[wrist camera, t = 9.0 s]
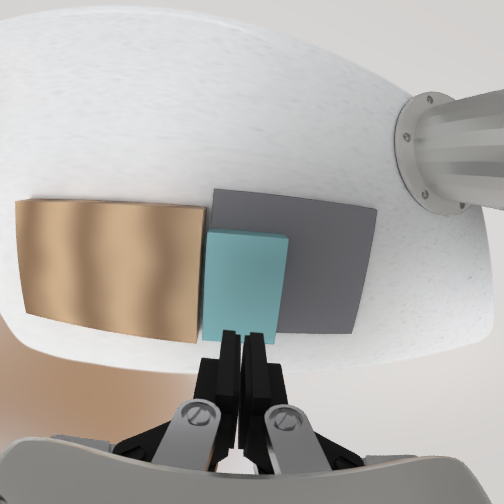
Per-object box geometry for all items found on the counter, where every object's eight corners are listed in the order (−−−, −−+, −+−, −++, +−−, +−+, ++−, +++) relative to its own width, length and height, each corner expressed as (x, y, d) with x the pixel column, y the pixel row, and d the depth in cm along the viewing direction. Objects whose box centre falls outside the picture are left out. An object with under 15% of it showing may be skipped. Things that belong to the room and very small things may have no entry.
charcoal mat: (374, 209, 24) (377, 209, 23) (349, 331, 27) (351, 333, 26) (214, 188, 23) (213, 189, 22) (204, 325, 25) (204, 327, 25)
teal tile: (283, 234, 23) (288, 238, 21) (271, 332, 25) (274, 344, 23) (209, 227, 23) (207, 232, 21) (204, 328, 25) (202, 340, 23)
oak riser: (206, 206, 23) (203, 209, 20) (199, 329, 25) (196, 343, 23) (30, 198, 21) (15, 201, 19) (38, 303, 24) (26, 312, 21)
